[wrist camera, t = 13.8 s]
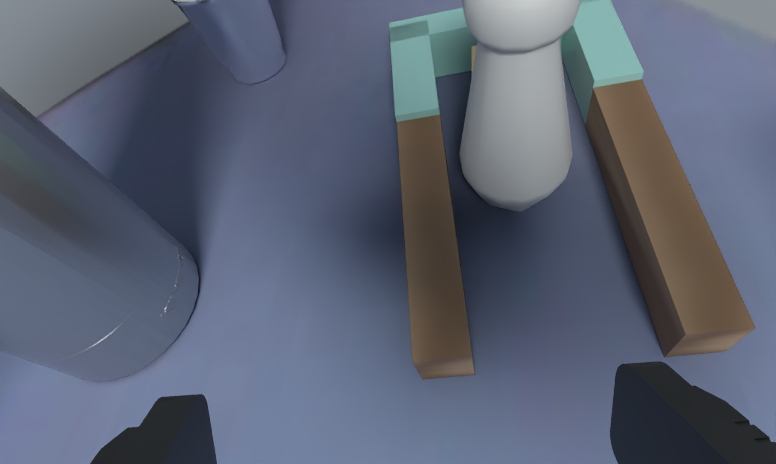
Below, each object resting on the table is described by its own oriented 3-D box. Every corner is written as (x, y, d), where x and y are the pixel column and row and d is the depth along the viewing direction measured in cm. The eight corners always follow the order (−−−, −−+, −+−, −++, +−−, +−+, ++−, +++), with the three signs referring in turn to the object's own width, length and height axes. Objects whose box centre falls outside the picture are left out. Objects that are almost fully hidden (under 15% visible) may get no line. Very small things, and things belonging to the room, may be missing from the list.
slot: (422, 379, 23) (412, 361, 21) (405, 155, 30) (396, 122, 28) (725, 351, 21) (755, 328, 19) (629, 118, 28) (641, 79, 26)
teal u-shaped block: (405, 155, 30) (395, 115, 28) (398, 64, 35) (389, 22, 32) (629, 118, 28) (643, 72, 26) (591, 27, 33) (600, -21, 30)
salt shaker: (444, 198, 28) (407, -7, 17) (493, 131, 30) (488, -93, 19) (537, 241, 26) (562, 32, 15) (585, 165, 27) (639, -72, 17)
